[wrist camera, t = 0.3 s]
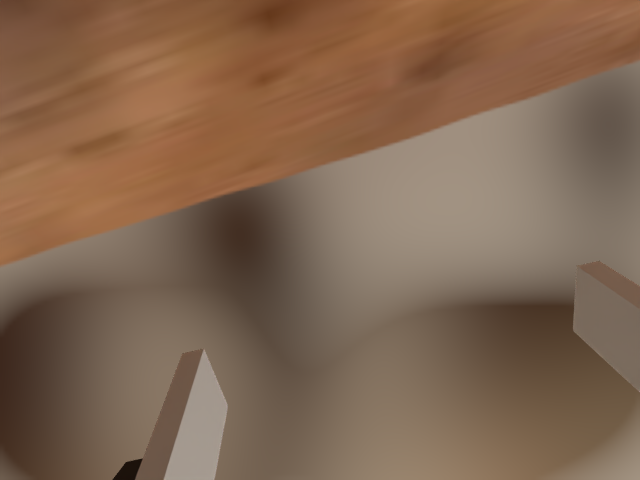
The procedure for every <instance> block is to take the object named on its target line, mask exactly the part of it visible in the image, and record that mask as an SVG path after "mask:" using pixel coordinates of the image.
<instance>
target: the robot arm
mask: <svg viewBox="0 0 640 480" xmlns="http://www.w3.org/2000/svg"><path fill="white" fill-rule="evenodd" d="M573 331H574V332H575V333H576V334H577V335H578V336H580V337H581V338H582V339H583V340H584V341H585V342H586V343H587V344H588V345H589V346H590V347H591V348H592V349H594V350H595V351H596V352H597V353H598V354H599V355H600V356H601V357H602V358H603V359H604V360H606V361H607V362H608V363H609V364H610V365H611V366H612V367H613V368H614V369H615V370H616V371H617V372H618V373H620V374H621V375H622V376H623V377H624V378H625V379H626V380H627V381H628V382H629V383H630V384H631V385H633V386H634V387H635V388H636V389H637V390H638V391H639V392H640V286H638V285H637V284H635V283H634V282H632V281H630V280H629V279H627V278H626V277H624V276H622V275H621V274H619V273H617V272H616V271H614V270H613V269H611V268H609V267H608V266H606V265H605V264H603V263H601V262H600V261H597V262H592V263H587V264H583V265H578V266H577V269H576V288H575V305H574V323H573ZM227 408H228V405H227V403H226V400H225V398H224V395H223V393H222V391H221V388H220V386H219V384H218V381H217V379H216V377H215V374H214V372H213V369H212V367H211V364H210V362H209V360H208V357H207V355H206V353H205V350H204V349H200V350H195V351H191V352H187V353H183V354H182V356H181V359H180V362H179V364H178V367H177V370H176V372H175V375H174V377H173V380H172V383H171V385H170V388H169V391H168V393H167V396H166V399H165V401H164V404H163V407H162V409H161V412H160V415H159V417H158V420H157V423H156V425H155V428H154V431H153V433H152V436H151V438H150V441H149V444H148V446H147V449H146V452H145V455H144V457H143V459H138V460H134V461H129V462H126V463H125V464H124V466H123V467H122V468H121V470H120V471H119V472H118V473H117V475H116V476H115V477H114V479H113V480H214V479H215V474H216V468H217V463H218V457H219V452H220V446H221V441H222V435H223V430H224V424H225V418H226V414H227Z"/></svg>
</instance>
